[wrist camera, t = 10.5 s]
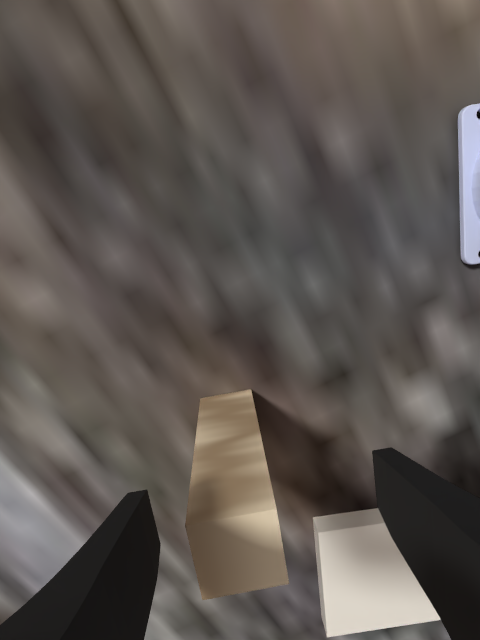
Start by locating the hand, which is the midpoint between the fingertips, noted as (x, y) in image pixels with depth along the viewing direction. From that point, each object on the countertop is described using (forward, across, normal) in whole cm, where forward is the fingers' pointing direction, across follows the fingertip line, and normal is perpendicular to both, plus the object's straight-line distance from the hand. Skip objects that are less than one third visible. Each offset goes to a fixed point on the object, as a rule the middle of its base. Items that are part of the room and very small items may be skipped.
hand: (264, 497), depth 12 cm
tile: (+10, -7, +10) cm, 16 cm away
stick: (+10, +1, +2) cm, 11 cm away
